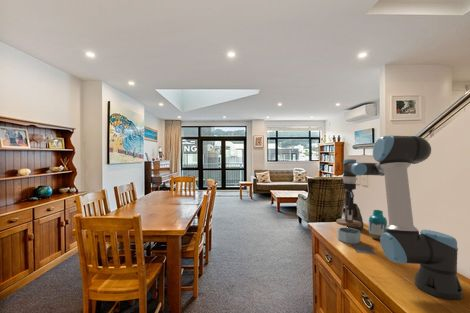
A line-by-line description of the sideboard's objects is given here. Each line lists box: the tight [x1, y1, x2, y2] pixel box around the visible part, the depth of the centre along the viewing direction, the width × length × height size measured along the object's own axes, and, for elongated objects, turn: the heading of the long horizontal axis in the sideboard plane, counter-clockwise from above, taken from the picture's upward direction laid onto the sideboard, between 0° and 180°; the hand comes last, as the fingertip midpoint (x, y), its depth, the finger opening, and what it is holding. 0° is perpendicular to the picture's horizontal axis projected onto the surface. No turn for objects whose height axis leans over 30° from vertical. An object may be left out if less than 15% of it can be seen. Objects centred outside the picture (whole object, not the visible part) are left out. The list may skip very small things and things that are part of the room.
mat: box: [351, 243, 377, 255], centre depth 142 cm, size 14×10×1 cm
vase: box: [368, 209, 388, 241], centre depth 162 cm, size 11×11×19 cm
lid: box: [335, 205, 362, 227], centre depth 157 cm, size 15×15×11 cm
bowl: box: [336, 226, 361, 245], centre depth 157 cm, size 13×13×7 cm
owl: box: [346, 202, 364, 232], centre depth 187 cm, size 13×13×20 cm
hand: (348, 218), depth 157 cm, fingers closed on lid, 4 cm apart
